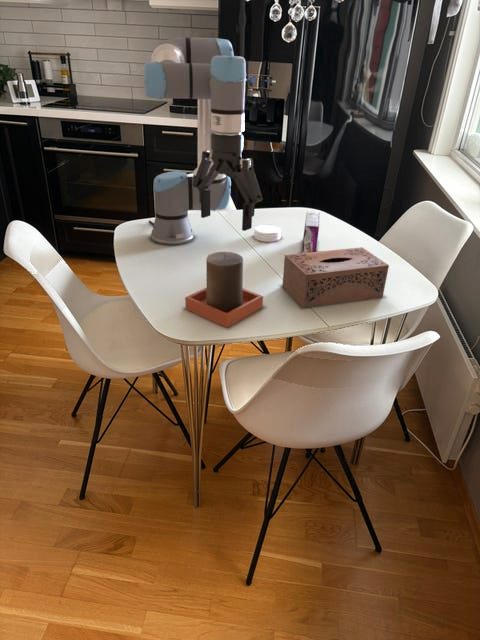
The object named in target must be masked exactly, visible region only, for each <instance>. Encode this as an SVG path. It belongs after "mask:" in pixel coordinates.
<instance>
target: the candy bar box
mask: <svg viewBox="0 0 480 640" xmlns="http://www.w3.org/2000/svg"><path fill="white" fill-rule="evenodd" d="M320 215H321V213H320V212H313V211H306V215H305V222H304V229H303V236H302V247H301V253H310V252H317V247H318V239H319V232H320V231H319V230H320Z"/></svg>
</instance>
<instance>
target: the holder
mask: <svg viewBox="0 0 480 640" xmlns="http://www.w3.org/2000/svg"><path fill="white" fill-rule="evenodd" d="M206 296H207V293H206V287H204V288H202V289H200V290H198V291H196V292H193V293H192V294H189V295H187V296H185V297H184V300H185V301H184V302H185V303H184V304H185V305H184V306H185V308H184V309H185V310H187V311H189V312H192V313H194V314H196V315H198V316H201V317H203V318H205V319H207V320H209V321H212V322H213V323H215V324H218V325H220V326H222V327H224V328H229V327H231V326H233V325H235V324H236V323H237V322H240V321H241V320H243V319H244V318H246V317H248V316H250V315H252V314H254V313H255V312H257V311H258V310H260V309H263V307H264V296H263V295H261V294H259V293H256V292H254V291H251V290H249V289H246V288H243V287H242V305H241V306H239V307H238V308H236V309H234V310H232V311H230V312H228V313H225V312H223V311H221V310H218V309H216V308H214V307H211V306H209V305H207V299H206Z"/></svg>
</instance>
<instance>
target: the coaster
mask: <svg viewBox="0 0 480 640" xmlns="http://www.w3.org/2000/svg"><path fill="white" fill-rule="evenodd" d="M253 231H254V232H253V233H254V234H253V238H254V239H256V240H257V241H259V242H266V243H271V242H278V241H279V240H281V236H282V233H281V232H282V229H281V228H280V227H279V226H276V225H274V224H273V225H272V224H261V225H257V226H255V227H254V230H253Z"/></svg>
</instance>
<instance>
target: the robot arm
mask: <svg viewBox="0 0 480 640" xmlns="http://www.w3.org/2000/svg"><path fill="white" fill-rule="evenodd" d="M246 64H247V62H246V59H245V58H244V57H243V56H238V55H234V49H233V45H232V43H231V42H230V40H229V39H224V38H217V37H185V36H181V37H173V38H169V39H167V40H165V41H162V42H160V43H159V44H157V45H156V46H155V48H154V49H153V50H152V53H151V55H150V61H148V62H145V63H144V64H143V82H144V83H143V85H144V93H145V96H146V97H147V98H151V99H159V100H163V99H177V100H179V99H186V100H187V99H189V100H197V167H196V168H195V169H194V170H193V171H192V173H193V174H192V176H188V173H187V172H186V171H183V170H182V171H179V170H175V171H168V172H163V173H161V174H158V175H156V176H155V177H154V179H153V197H154V214H155V218H154V221H152V220H148V223H149V224H151V226H153V228H152V230H151V232H150V233H151V240H152V241H153V242H154V243H156V244H160V245H166V246H167V245H168V246H177V245H183V244H188V243H190V242H192V240H193V239H194V230H193V228H192V225H191V222H190V219H189V212H188V211H200V218H201V219H204V218H205V219H206V218H208V217H210V216H211V211H213V212H215V211H223V210H226V208H227V207H228V205H229V202H230V199H231V186H232V180H233V181H234V183H235V185H236V186H237V188H238V191H239V192H240V194H241V196H242V198H243V200H244V201H245V202H244V203H242V220H241V221H242V223H241V231H243V232H245V231H248V230H251V229H252V226H253V217H254V216H255V210H256V209H255V208H256V207H255V206H256V204H257V203H259V202H260V203H261V202H262V201H263V195H262V192H261V189H260V186H259V182H258V180H257V177H256V173H255V170H254V160H253V158H252V157H251V158H250V157H249V158H243V157H242V153H243V151H244V139H245V138H244V136H245V135H244V134H243V132H245V100H246V99H245V98H246V77H247V68H246V67H247V65H246ZM231 179H232V180H231Z"/></svg>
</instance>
